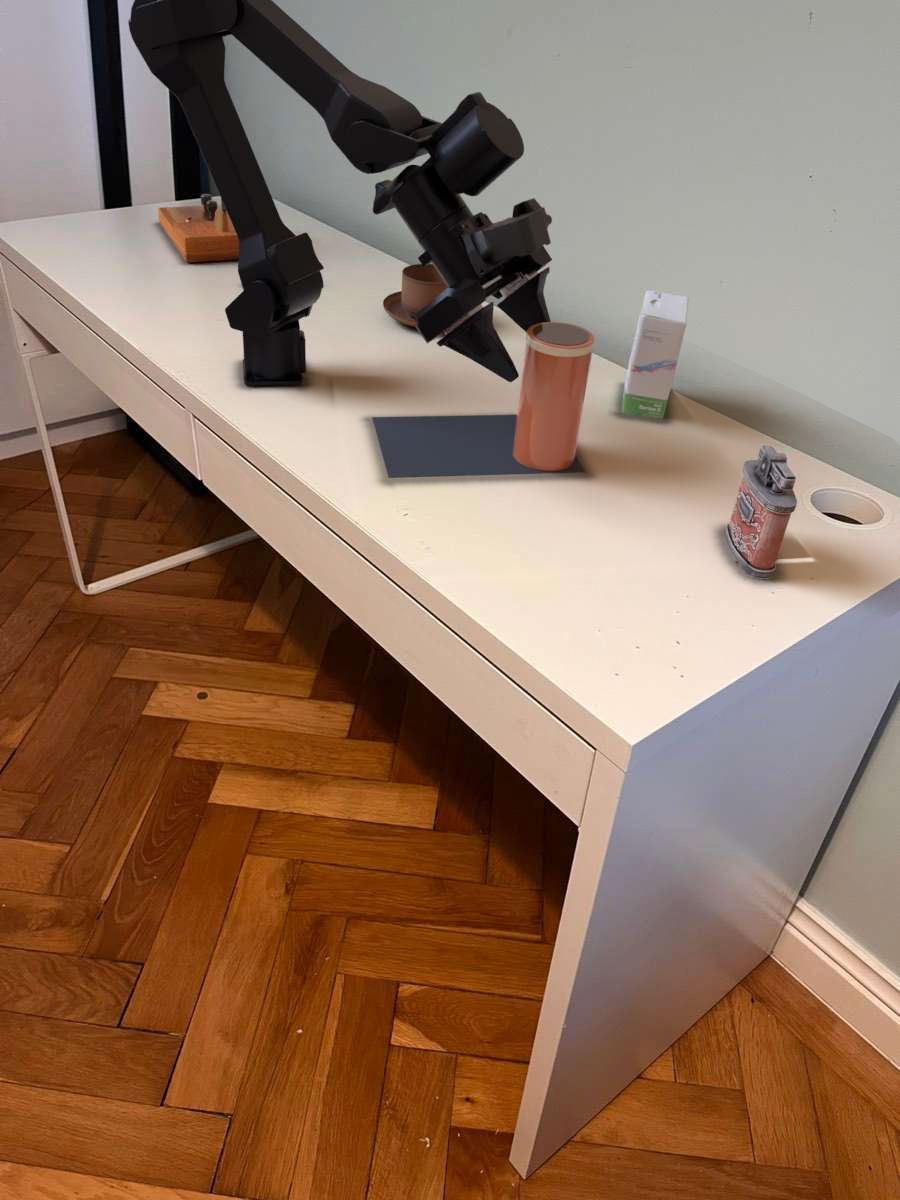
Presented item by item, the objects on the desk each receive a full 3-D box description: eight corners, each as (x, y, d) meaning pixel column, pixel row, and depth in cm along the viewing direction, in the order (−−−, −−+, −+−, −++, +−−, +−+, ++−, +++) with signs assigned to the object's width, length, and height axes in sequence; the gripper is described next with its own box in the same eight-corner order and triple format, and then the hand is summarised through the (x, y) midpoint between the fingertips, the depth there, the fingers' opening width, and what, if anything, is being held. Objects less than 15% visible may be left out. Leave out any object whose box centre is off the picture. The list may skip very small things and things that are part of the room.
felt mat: (388, 481, 96) (388, 477, 96) (371, 420, 106) (372, 416, 106) (585, 475, 100) (585, 471, 100) (551, 417, 110) (551, 414, 110)
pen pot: (520, 472, 99) (536, 347, 91) (505, 441, 104) (519, 320, 96) (582, 470, 100) (604, 347, 92) (564, 440, 105) (583, 321, 97)
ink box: (624, 385, 119) (642, 287, 112) (667, 391, 118) (689, 294, 111) (619, 415, 112) (639, 313, 105) (665, 422, 111) (688, 320, 104)
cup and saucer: (449, 299, 138) (452, 255, 134) (488, 331, 129) (493, 285, 125) (368, 307, 133) (370, 261, 129) (404, 341, 125) (406, 292, 121)
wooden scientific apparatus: (203, 288, 134) (193, 149, 124) (159, 223, 155) (147, 100, 145) (299, 281, 139) (297, 147, 129) (243, 219, 160) (238, 100, 150)
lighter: (717, 529, 93) (743, 433, 87) (751, 530, 94) (780, 434, 88) (744, 579, 87) (775, 479, 81) (781, 579, 87) (814, 480, 81)
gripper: (454, 193, 82) (558, 352, 85) (545, 155, 96) (632, 293, 98) (371, 268, 90) (469, 412, 92) (466, 223, 103) (550, 350, 106)
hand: (534, 363), depth 97 cm, fingers open, 9 cm apart
